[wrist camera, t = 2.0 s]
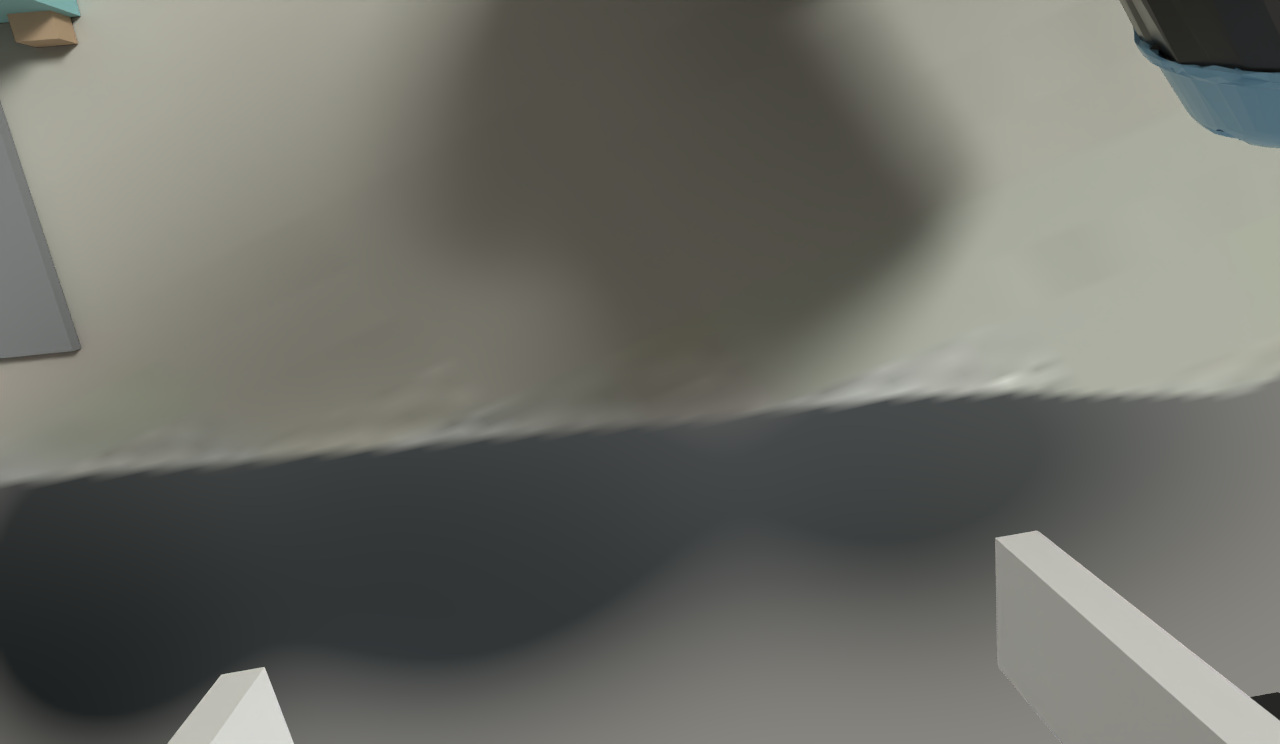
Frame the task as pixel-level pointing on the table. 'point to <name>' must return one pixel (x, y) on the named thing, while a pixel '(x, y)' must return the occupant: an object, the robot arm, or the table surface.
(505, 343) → the table surface
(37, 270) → the mat
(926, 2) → the table surface
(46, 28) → the fence
